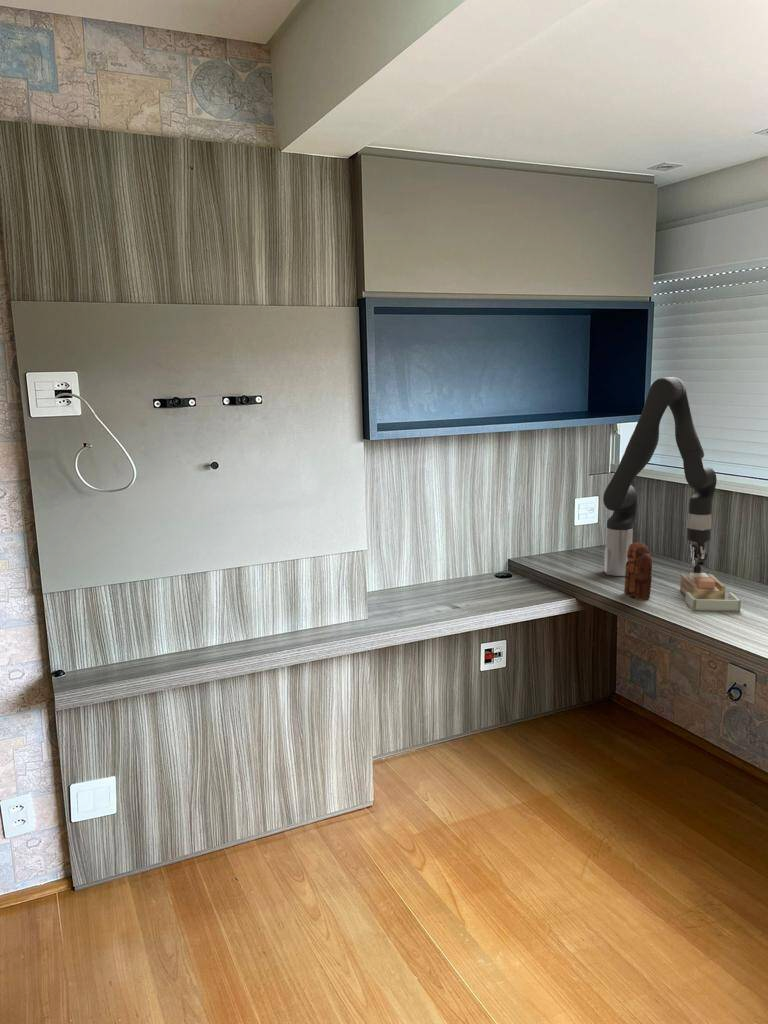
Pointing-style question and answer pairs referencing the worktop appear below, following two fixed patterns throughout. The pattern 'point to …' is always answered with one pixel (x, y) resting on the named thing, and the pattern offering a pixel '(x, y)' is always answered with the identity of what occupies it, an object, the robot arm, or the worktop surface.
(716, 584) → the wooden u-channel
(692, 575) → the tile
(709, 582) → the tile
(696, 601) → the tray
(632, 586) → the wooden figurine
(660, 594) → the worktop surface
